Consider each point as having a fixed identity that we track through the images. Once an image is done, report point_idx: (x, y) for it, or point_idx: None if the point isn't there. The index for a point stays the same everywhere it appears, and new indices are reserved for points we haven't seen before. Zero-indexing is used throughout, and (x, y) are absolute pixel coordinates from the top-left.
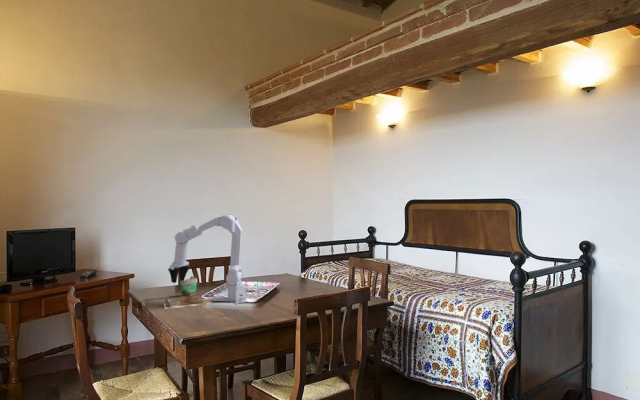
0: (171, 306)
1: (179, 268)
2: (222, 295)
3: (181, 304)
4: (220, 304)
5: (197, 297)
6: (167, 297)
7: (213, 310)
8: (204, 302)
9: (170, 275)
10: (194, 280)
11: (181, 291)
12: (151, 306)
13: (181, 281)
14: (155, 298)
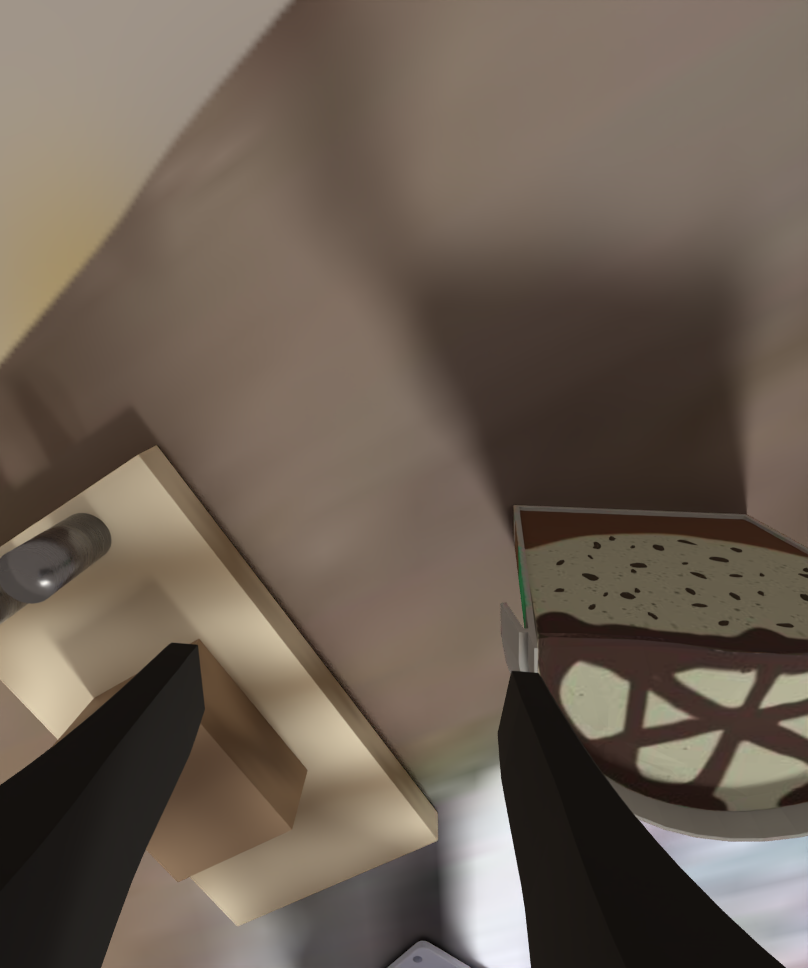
0: (34, 615)
1: (605, 950)
2: (683, 854)
3: (87, 709)
4: (322, 929)
5: (177, 876)
6: (34, 577)
7: (130, 933)
8: (257, 855)
9: (34, 760)
10: (668, 819)
11: (518, 550)
12: (121, 277)
13: (530, 659)
14: (574, 44)
